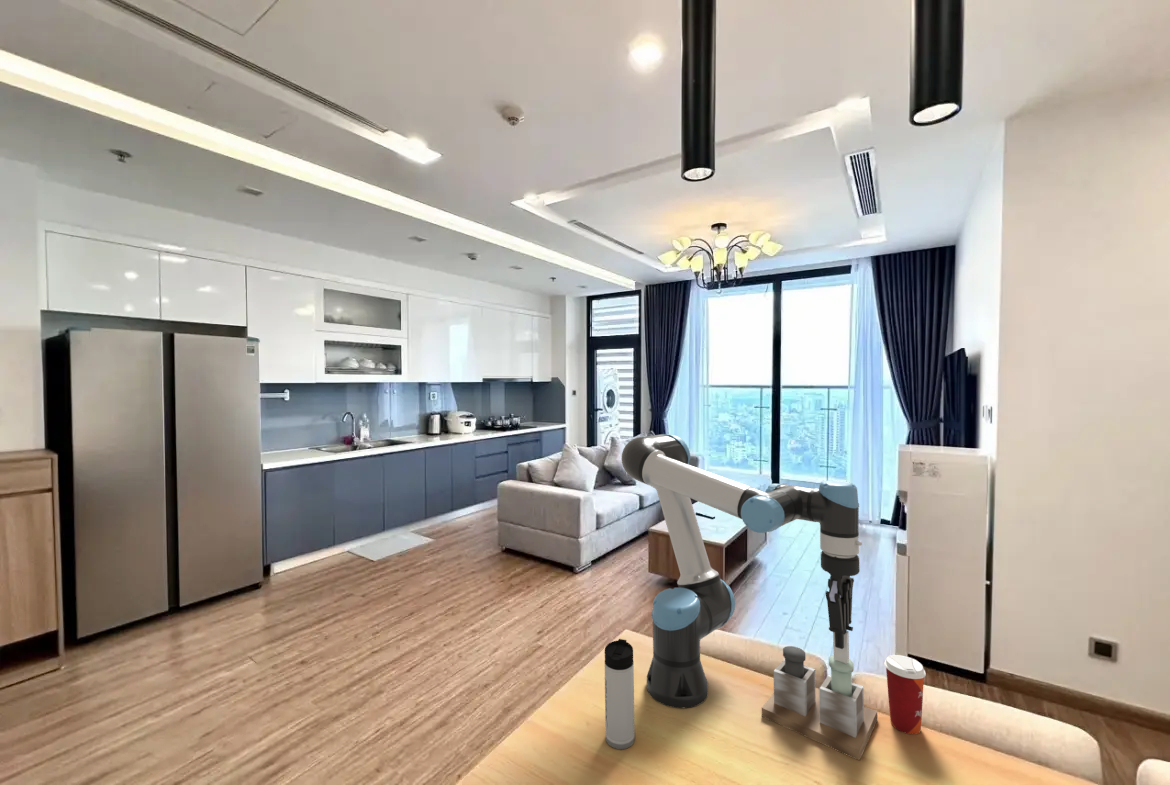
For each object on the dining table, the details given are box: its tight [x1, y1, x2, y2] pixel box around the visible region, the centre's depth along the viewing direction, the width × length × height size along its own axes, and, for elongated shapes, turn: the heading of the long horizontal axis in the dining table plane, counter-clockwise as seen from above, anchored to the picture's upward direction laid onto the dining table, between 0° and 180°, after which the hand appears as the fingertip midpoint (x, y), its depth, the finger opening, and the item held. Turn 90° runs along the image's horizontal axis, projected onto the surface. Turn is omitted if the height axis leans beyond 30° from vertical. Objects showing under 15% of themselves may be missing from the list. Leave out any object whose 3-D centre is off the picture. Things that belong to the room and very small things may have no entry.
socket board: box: [761, 657, 878, 761], centre depth 109 cm, size 20×16×10 cm
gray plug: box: [782, 645, 806, 679], centre depth 112 cm, size 5×5×11 cm
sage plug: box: [828, 654, 855, 697], centre depth 105 cm, size 5×5×11 cm
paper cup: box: [883, 654, 927, 735], centre depth 107 cm, size 8×8×14 cm
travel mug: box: [604, 638, 636, 750], centre depth 104 cm, size 6×7×20 cm
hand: (841, 660), depth 105 cm, fingers closed
